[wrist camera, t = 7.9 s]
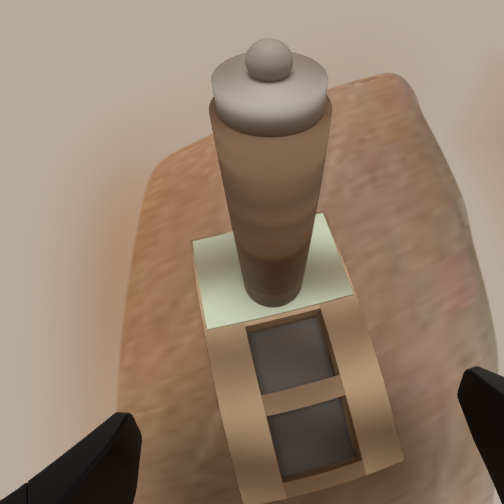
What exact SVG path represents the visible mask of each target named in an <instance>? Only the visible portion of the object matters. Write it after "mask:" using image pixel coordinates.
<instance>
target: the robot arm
mask: <svg viewBox="0 0 504 504" xmlns="http://www.w3.org/2000/svg"><path fill="white" fill-rule="evenodd" d="M457 395H458V400H459V403H460V405H461V408H462V410H463V413H464V416H465V418H466V421H467V424H468V426H469V429H470V432H471V434H472V437H473V439H474V442H475V444H476V446H477V448H478V450H479V452H480V454H481V457H482V459H483V461H484V463H485V465H486V467H487V470H488V472H489V474H490V476H491V479H492V481H493V483H494V486H495V488H496V490H497V493H498V495H499V498H500V500H501V503H502V504H504V377H503V376H500V375H498V374H495V373H493V372H491V371H488V370H486V369H483V368H481V367H478V366H476V367H472V368H469V369H467V370H465V372H464V374H463V377H462V380H461V383H460V386H459V389H458V394H457ZM141 444H142V436H141V432H140V430H139V428H138V426H137V424H136V422H135V419H134V417H133V415H132V414H130V413H124V412H116V413H115V414H113V415H112V416H111V417H110V418H108V419H107V420H106V421H105V422H103V423H102V424H101V425H100V426H98V427H97V428H96V429H95V430H93V431H92V432H91V433H90V434H88V435H87V436H86V437H85V438H83V439H82V440H81V441H80V442H78V443H77V444H76V445H75V446H73V447H72V448H71V449H69V450H68V451H67V452H66V453H64V454H63V455H62V456H61V457H59V458H58V459H57V460H55V461H54V462H53V463H51V464H50V465H49V466H47V467H46V468H45V469H44V470H42V471H41V472H40V473H38V474H37V475H36V476H34V477H33V478H32V479H30V480H29V481H28V483H25V484H23V485H22V486H21V487H20V488H18V489H17V490H15V491H14V492H12V493H11V494H10V495H8V496H7V497H5V498H4V499H2V500H0V504H133V502H134V497H135V493H136V488H137V481H138V471H139V461H140V453H141Z"/></svg>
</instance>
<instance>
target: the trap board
mask: <svg viewBox="0 0 504 504" xmlns="http://www.w3.org/2000/svg"><path fill="white" fill-rule="evenodd" d="M190 245H191V252H192V259H193V266H194V272H195V278H196V285H197V291H198V297H199V303H200V309H201V315H202V320H203V326H204V332H205V337H206V343H207V348H208V353H209V358H210V364H211V369H212V374H213V379H214V383H215V388H216V393H217V398H218V402H219V407H220V412H221V416H222V421H223V425H224V429H225V434H226V438H227V442H228V447H229V451H230V455H231V459H232V463H233V467H234V471H235V475H236V479H237V483H238V486H239V490H240V494H241V498H242V501H243V504H263V503H269V502H274V501H279V500H283V499H288V498H292V497H296V496H301V495H305V494H308V493H312V492H316V491H320V490H323V489H327V488H330V487H333V486H337V485H340V484H343V483H346V482H349V481H352V480H355V479H358V478H361V477H363V476H366V475H369V474H372V473H374V472H377V471H379V470H382V469H384V468H387V467H389V466H392V465H394V464H396V463H399V462H401V461H403V460H404V458H403V453H402V449H401V445H400V441H399V437H398V432H397V428H396V424H395V421H394V417H393V413H392V409H391V405H390V402H389V398H388V394H387V391H386V387H385V384H384V380H383V377H382V374H381V370H380V367H379V364H378V360H377V357H376V354H375V350H374V347H373V344H372V341H371V338H370V335H369V332H368V329H367V326H366V323H365V320H364V317H363V314H362V311H361V308H360V305H359V302H358V299H357V296H356V293H355V291H354V288H353V285H352V282H351V279H350V277H349V274H348V271H347V269H346V266H345V263H344V260H343V258H342V255H341V253H340V250H339V247H338V245H337V242H336V240H335V237H334V235H333V232H332V230H331V227H330V225H329V222H328V220H327V217H326V215H325V212H324V211H322V212H317V213H316V216H315V221H314V227H313V232H312V237H311V242H310V248H309V253H308V258H307V263H306V268H305V273H304V278H303V282H302V287H301V290H300V292H299V294H298V295H297V297H296V298H295V299H294V300H293V301H292V302H290V303H288V304H287V305H284V306H281V307H275V308H271V307H265V306H262V305H259V304H257V303H256V302H254V301H253V300H252V299H251V298H250V297H249V295H248V294H247V292H246V290H245V287H244V282H243V277H242V272H241V268H240V263H239V258H238V253H237V249H236V244H235V239H234V234H233V231H229V232H224V233H220V234H216V235H211V236H207V237H202V238H198V239H194V240H190Z"/></svg>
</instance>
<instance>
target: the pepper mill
mask: <svg viewBox="0 0 504 504" xmlns="http://www.w3.org/2000/svg"><path fill="white" fill-rule="evenodd" d="M211 82H212V88H213V94H214V97H213V99H212V100H211V103H210V106H209V114H210V119H211V125H212V130H213V135H214V140H215V145H216V150H217V155H218V160H219V165H220V170H221V175H222V180H223V185H224V190H225V195H226V200H227V205H228V210H229V215H230V220H231V225H232V229H233V234H234V239H235V244H236V249H237V253H238V258H239V263H240V268H241V272H242V277H243V282H244V287H245V290H246V292H247V294H248V295H249V297H250V298H251V299H252V300H253V301H254V302H256V303H257V304H259V305H262V306H265V307H271V308H275V307H281V306H284V305H287V304H288V303H290V302H292V301H293V300H294V299H295V298H296V297H297V295H298V294H299V292H300V290H301V287H302V282H303V278H304V273H305V268H306V263H307V258H308V253H309V248H310V242H311V237H312V232H313V227H314V221H315V216H316V210H317V204H318V199H319V193H320V187H321V181H322V175H323V169H324V163H325V156H326V150H327V143H328V137H329V130H330V123H331V116H332V104H331V102H330V99H329V98H328V96H327V86H328V75H327V72H326V70H325V69H324V68H323V67H322V66H321V65H320V64H319V63H317V62H316V61H314V60H313V59H311V58H309V57H306V56H303V55H301V54H297V53H293V52H291V51H290V49H289V48H288V47H287V46H286V45H285V44H284V43H283V42H281V41H279V40H276V39H269V38H268V39H262V40H259V41H257V42H255V43H254V44H252V45H251V46H250V48H249V49H248V51H247V53H243V54H240V55H237V56H234V57H232V58H230V59H228V60H226V61H224V62H223V63H221V64H220V65H219V66H218V67H217V68H216V69H215V71H214V72H213V74H212V77H211Z"/></svg>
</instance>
